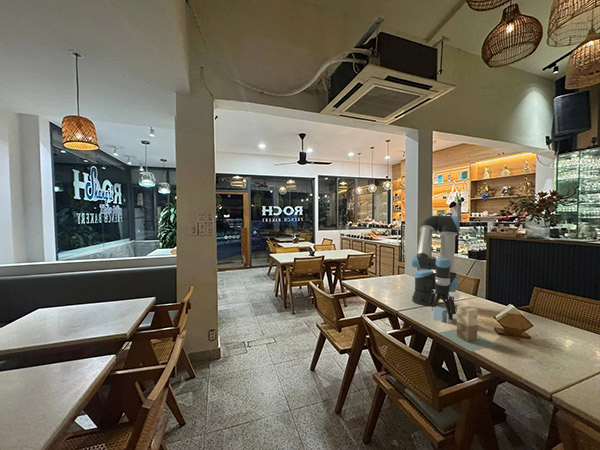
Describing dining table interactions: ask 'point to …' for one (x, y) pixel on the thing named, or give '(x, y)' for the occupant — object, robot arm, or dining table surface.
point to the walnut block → (467, 332)
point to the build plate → (470, 346)
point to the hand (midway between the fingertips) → (441, 320)
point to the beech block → (467, 315)
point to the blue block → (440, 313)
